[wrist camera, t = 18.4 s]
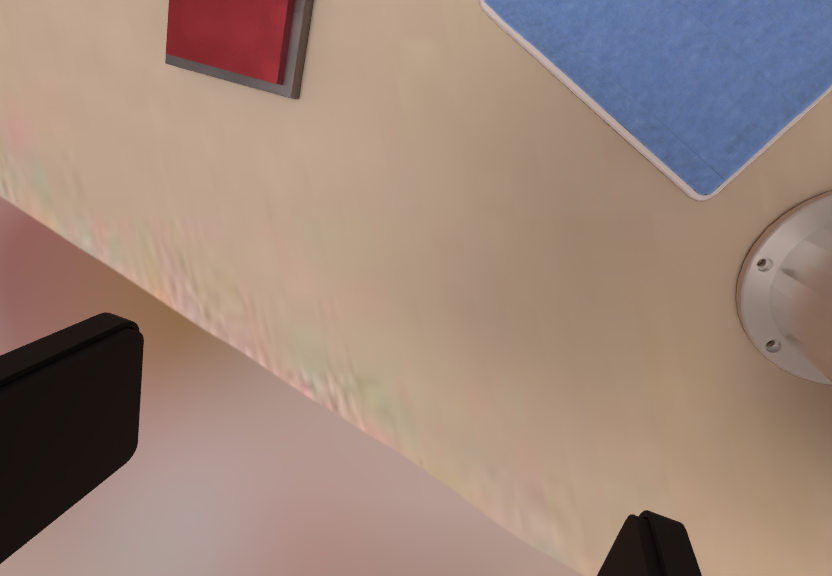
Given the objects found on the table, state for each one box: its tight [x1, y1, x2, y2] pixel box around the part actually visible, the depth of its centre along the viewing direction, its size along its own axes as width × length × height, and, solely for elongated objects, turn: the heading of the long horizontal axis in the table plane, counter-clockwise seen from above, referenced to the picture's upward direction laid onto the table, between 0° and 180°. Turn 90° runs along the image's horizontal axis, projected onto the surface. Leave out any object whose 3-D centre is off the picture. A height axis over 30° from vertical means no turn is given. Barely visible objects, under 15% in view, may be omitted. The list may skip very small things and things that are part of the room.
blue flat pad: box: [479, 0, 832, 201], centre depth 30 cm, size 19×13×1 cm, turn 51°
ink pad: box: [165, 0, 314, 99], centre depth 35 cm, size 10×8×2 cm
